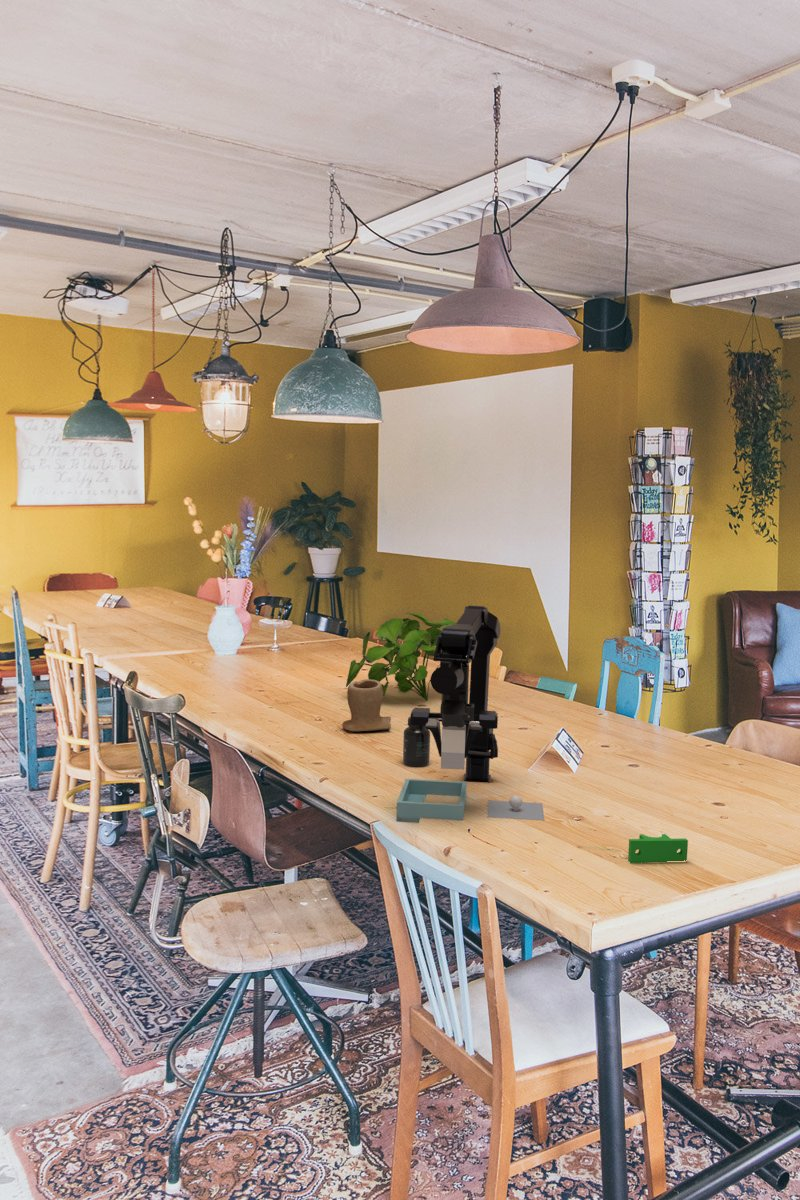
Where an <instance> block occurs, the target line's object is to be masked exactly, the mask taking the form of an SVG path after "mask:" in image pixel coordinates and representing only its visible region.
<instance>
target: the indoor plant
mask: <svg viewBox="0 0 800 1200" xmlns="http://www.w3.org/2000/svg"><path fill="white" fill-rule="evenodd" d="M406 615H411V616H413V617H416V618H417V619H419V620H421V621H422V622H423V623H424V624H425V625H426V626H429V627H428V628H426V629H420V628H421V627H420V621H418V620H417V619H410V618H407V617H406V618H397V617H396V618H390V619H389V620H387V621H385V622H384V623H382V624H380V627H379V629H377V631H376V632H375V635H374V636H375V637H376V638H377V639H378V640H380V641H386V642H385V644H384V645H374V646H372V647H369V648H368V644H369V639H370V634H371V632H370V631H368V632H367V634H366V635H365V637H363V640H362V650H361V655H362V659H360V661H359V662H357V661H356V659H353V660H351V662H350V665H349V670H348V675H347V680H346V685H345V688H348V687H349V685H350V684H351V683H353V682H354V680H355V679H356V678H357V676H358V675H359V673H360V671H361V669H362V668H363V667H364V665H365V666H370V668H369V671H368V674H367V678H368V679H371V680H376V681H379V682H380V683H381V681H383V679H384V680H386V682H385V684H383V683H381V685H382V689H383V697H385V696H386V692H387V689H388V687H389V686H390V687H392V685H390V682H389V680H388V676H391V675H394V680H395V682H397V688H398V690H399V691H400V692H402V693H408V692H409V691H413V692H414V693H416V694H417V695H418V696H419V697H421V698H423V700H425V701H429V699H428V697H429V696H428V695H429V688H430V684H431V681H430V680H429V681H428V686H426V685H427V684H426V683H427V682H426V678H427V677H428V672H429V671H428V670H427V668H428V662H429V658H430V656H431V657H434V654H435V649H436V645H437V640H438V635H439V633H441V631H442V630H441V629H443V628H445V627H446V626H449V625H455V624H456V623H457V622H455V621H453V620H451V619H449V618H442V619H441V622H436V621H435V622H434V621H429V619H428V618H427V617H426V616H424V615H423V614H421V613H415V612H414V613H413V612H407V613H406ZM399 640H403V641H402V643H399V644H398V642H399ZM367 648H368V649H367ZM419 649H420V650H422V651H423V652H425V653H424V656H423V659H422V664H421V665H420V664H419V665H418V663H419V662H418V661H419V660H418V658H419V657H420V656H421V655H422V652H421V651H420V650H419ZM441 654H442V653H441ZM380 659H384V660H385V661H386V662H388V663H383V662H375V661H379V660H380ZM374 662H375V663H374ZM417 665H418V668H417ZM439 667H440V665H437V667H435V669H434V671H435V670H436V669H437V668H439ZM352 681H353V682H352ZM426 687H427V688H426ZM413 688H414V689H415V690H414V689H413Z"/></svg>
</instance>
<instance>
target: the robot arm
mask: <svg viewBox="0 0 800 1200" xmlns="http://www.w3.org/2000/svg"><path fill="white" fill-rule="evenodd" d="M455 623H456V624H455V625H449V626H446V627H445V628H441V629H442V630H441V633H439V635H438V640H437V645H436V649H434V651H435V654H434V656H433V661H434V662H439V667H438V668H437V667H436V668H437V669H436V668H435V669H436V670H435V669H434V670H433V672H432V673H431V675H430V679H429V681H430V685H431V688H432V689H433V690H434V691H435V692H436V693H438V694H440V695H441V702H440V703H441V704H440V712H431V707H430V708H429V707H414V708H413V709H412V710H411V712H410V716H409V717H410V724H411V725H422V726H425V725H426V726H425V729H429V731H430V734H431V735H432V736H433V739H434V742H435V745H436V748H437V751H438V755H439V757H440V758H441V745H442V729H441V725H442V727H443V726H444V727H449V726H456V727H464V725H466V736H465V773H464V775H463V779H462V782H467V783H484V784H488V783H489V784H490V783H491V781H492V780H491V779H492V777H491V774H490V760H493V759H498V757H499V748H498V740H497V739H496V734H495V733H494V730H495V729H498V720H499V718H498V716H499V713H497V712H496V710H488V705H489V704H488V702H489V701H488V700H489V685H490V683H489V682H490V667H491V666H490V661H491V660H490V659H491V654H492V653H493V651H494V650H495V648H496V647H497V645H498V640H499V639H500V636H501V623H500V621H499V618H498V617H497V616H496V615H495V614H493V613H491V612H490V611H489V608H488V607H486V606H483V605H472V604H471V605H467V606H466V605H465V607H464V610H463V613H462V614H461V616H460V617H459V619H457V621H456V622H455ZM441 653H442V654H441ZM469 664H470V665H469ZM469 676H470V677H469ZM469 680H470V681H469ZM440 722H441V723H440Z"/></svg>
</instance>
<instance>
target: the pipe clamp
mask: <svg viewBox="0 0 800 1200" xmlns="http://www.w3.org/2000/svg"><path fill="white" fill-rule="evenodd" d="M688 843H689V840H688V839H687V838H683V837H682V838H670V836H668V835H667V834H666V833H662V834H661V836H658V837H654V836H653V837H652V836H647V835H645V834H643V833H641V834H639V838H629V839H628V856H627V860H628V861H629V862H630V863H629V862H628V863H629V864H648V863H647V862H667V861H684V860H685V861H686V860H687V861H688V845H689V844H688ZM637 850H638V852H636V851H637ZM641 862H642V863H641ZM645 862H646V863H645Z"/></svg>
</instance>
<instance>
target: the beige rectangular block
mask: <svg viewBox="0 0 800 1200" xmlns="http://www.w3.org/2000/svg"><path fill="white" fill-rule="evenodd" d="M465 736H466V725H464V727H456V726H449V727H444V726H442V728H441V742H442V745H441V757H440V769H443V770H461V771H462V770H465V766H466V758H465Z"/></svg>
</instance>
